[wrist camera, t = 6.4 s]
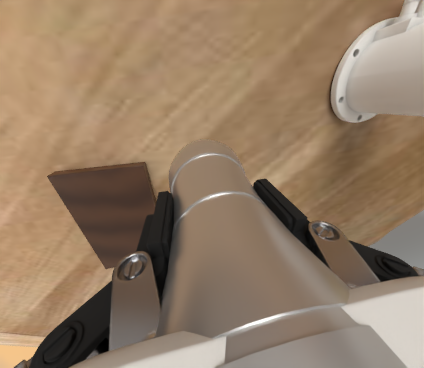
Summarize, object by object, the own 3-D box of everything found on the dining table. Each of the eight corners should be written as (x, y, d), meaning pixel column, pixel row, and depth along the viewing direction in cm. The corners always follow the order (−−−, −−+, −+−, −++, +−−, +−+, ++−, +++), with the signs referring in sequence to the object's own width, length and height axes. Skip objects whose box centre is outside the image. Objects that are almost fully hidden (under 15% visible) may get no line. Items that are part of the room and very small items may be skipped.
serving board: (54, 171, 21) (46, 176, 20) (145, 161, 23) (143, 165, 22) (108, 262, 31) (105, 269, 30) (169, 250, 33) (169, 256, 31)
